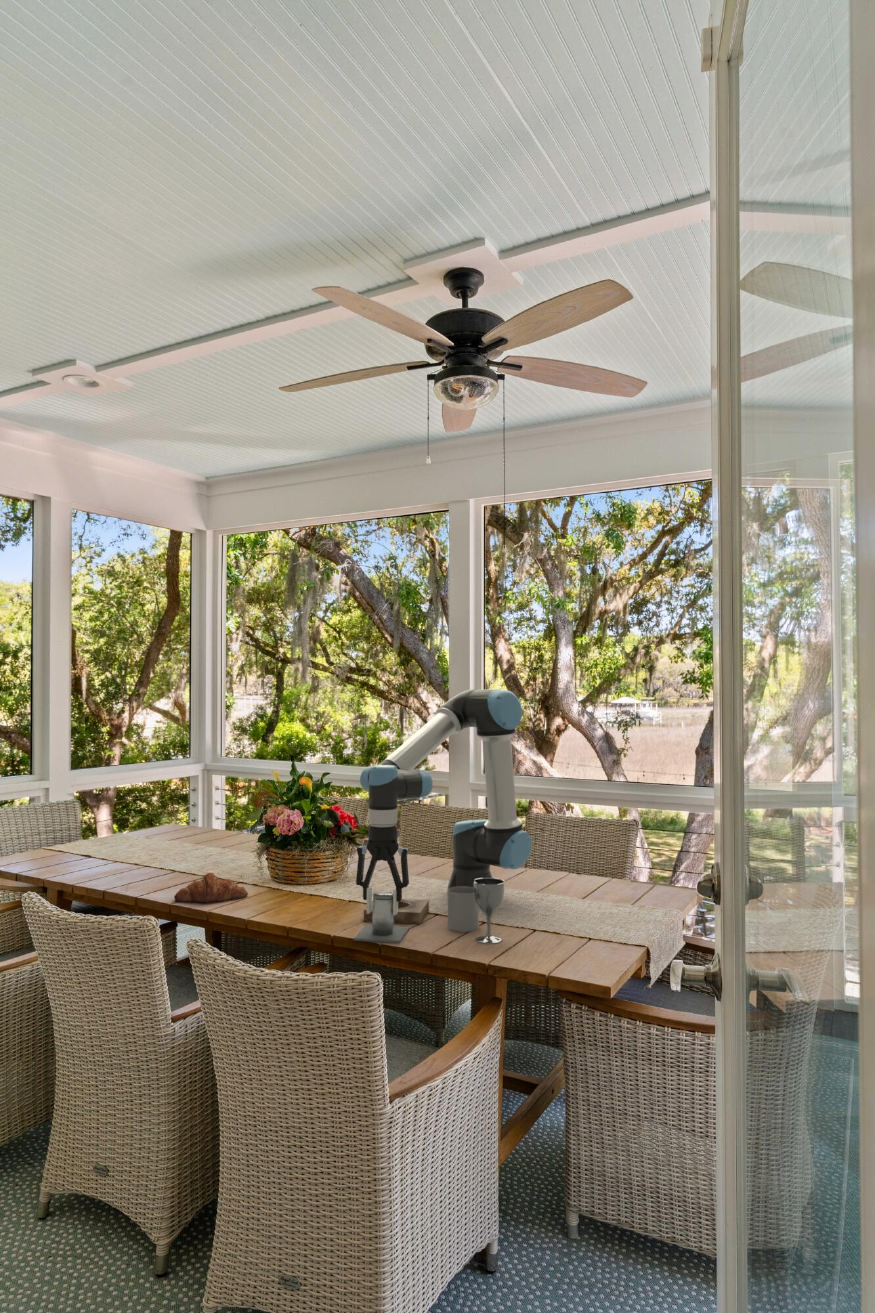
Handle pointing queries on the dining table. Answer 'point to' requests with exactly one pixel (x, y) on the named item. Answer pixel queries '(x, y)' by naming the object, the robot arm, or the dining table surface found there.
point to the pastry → (210, 891)
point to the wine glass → (489, 903)
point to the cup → (462, 909)
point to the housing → (406, 911)
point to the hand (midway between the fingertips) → (382, 913)
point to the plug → (383, 913)
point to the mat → (369, 936)
